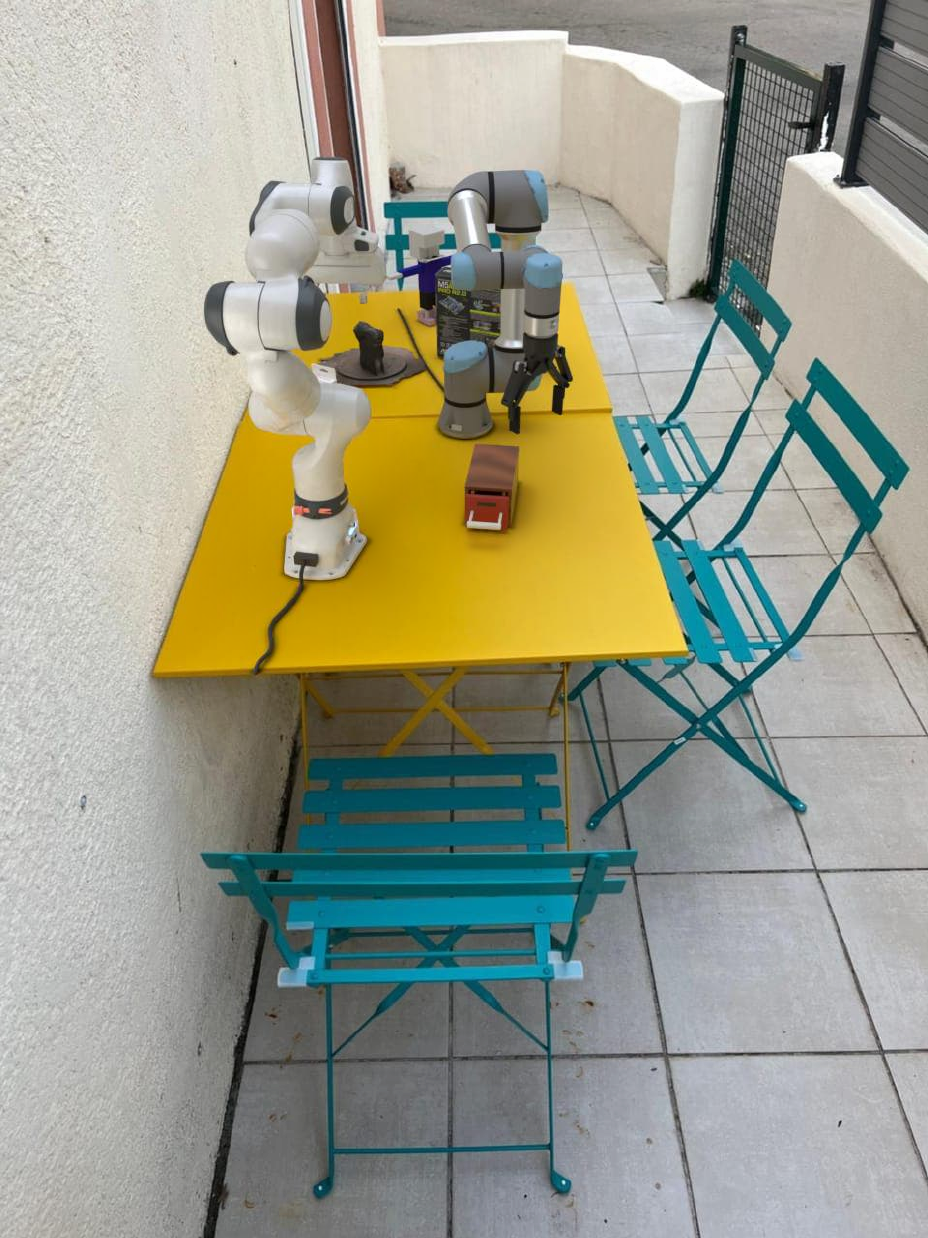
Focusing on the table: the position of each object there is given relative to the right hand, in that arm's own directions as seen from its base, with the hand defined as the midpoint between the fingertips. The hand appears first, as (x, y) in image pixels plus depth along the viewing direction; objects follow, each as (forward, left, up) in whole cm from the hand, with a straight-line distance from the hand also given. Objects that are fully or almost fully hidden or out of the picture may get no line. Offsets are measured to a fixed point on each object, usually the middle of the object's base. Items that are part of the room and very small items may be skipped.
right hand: (536, 422), depth 202 cm
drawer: (+2, -11, -22) cm, 25 cm away
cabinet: (-4, -9, -23) cm, 25 cm away
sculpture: (-87, -33, -23) cm, 95 cm away
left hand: (-22, -41, +22) cm, 51 cm away
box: (-85, +5, -23) cm, 88 cm away
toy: (-122, -9, -23) cm, 124 cm away
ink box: (-56, -48, -23) cm, 78 cm away
